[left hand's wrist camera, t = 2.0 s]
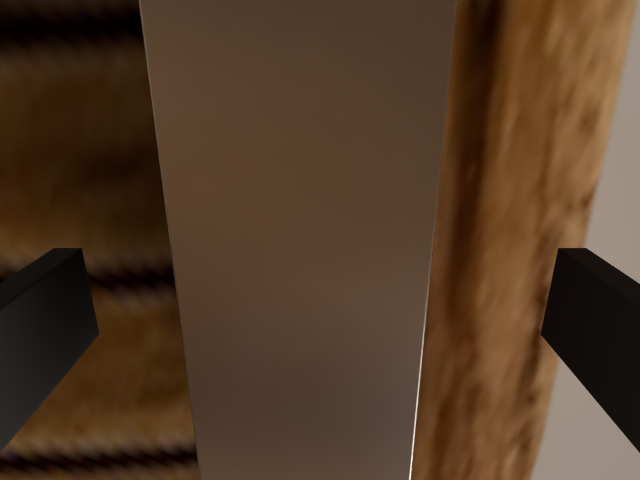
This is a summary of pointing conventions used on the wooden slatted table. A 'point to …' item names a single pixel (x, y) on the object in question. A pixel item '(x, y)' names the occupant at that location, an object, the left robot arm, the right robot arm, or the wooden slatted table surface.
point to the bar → (301, 223)
